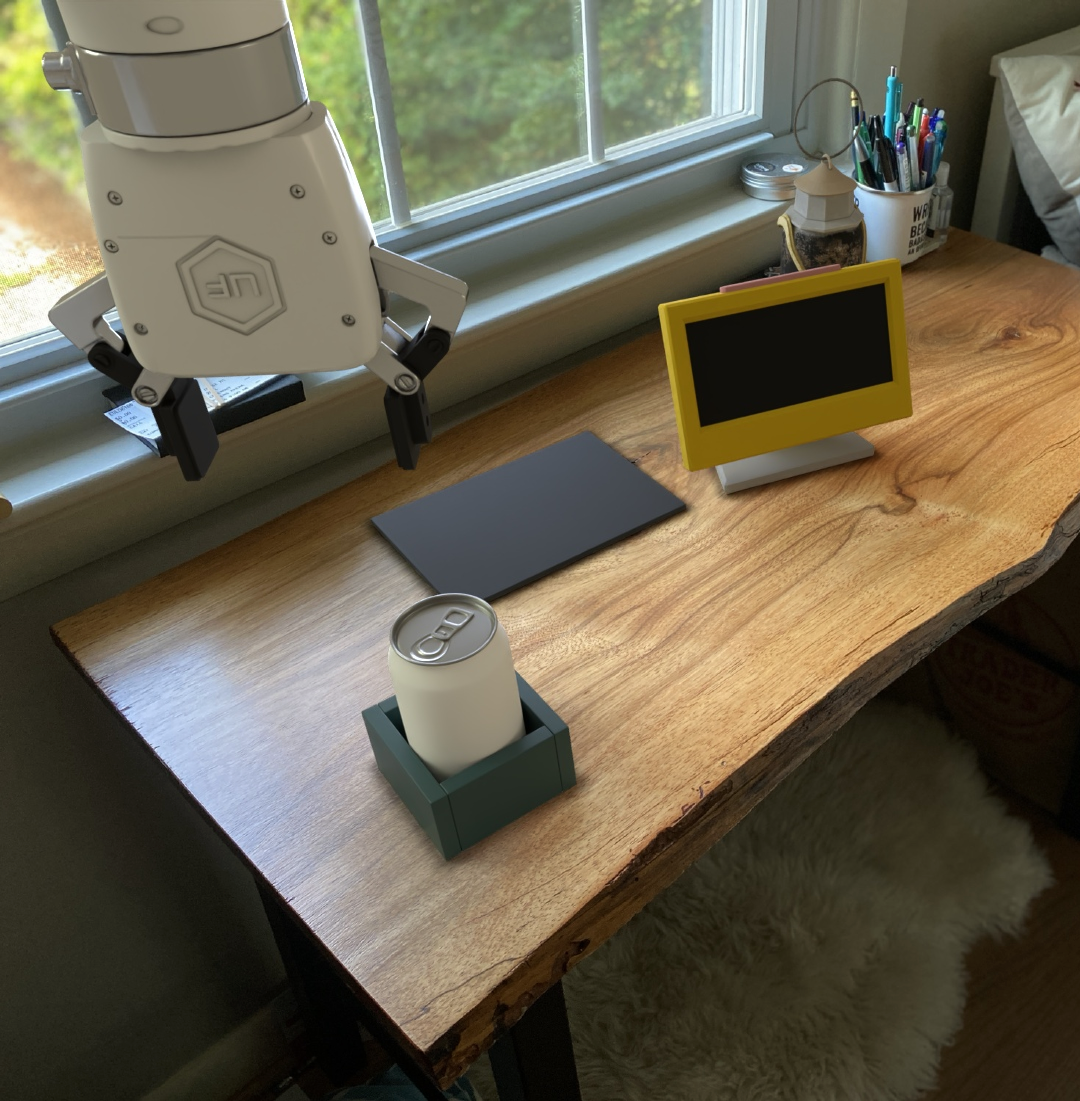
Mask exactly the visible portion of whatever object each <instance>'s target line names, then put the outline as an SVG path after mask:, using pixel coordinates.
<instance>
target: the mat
mask: <svg viewBox="0 0 1080 1101" xmlns="http://www.w3.org/2000/svg"><path fill="white" fill-rule="evenodd" d="M686 509H687V503H685V502H684V501H683V500H681V499H680V498H679V497H678V496H676V494H673V493H672V491H669V490H668V489H667V488H666V487H664V486H663V485H661V484H660V483H659V482H658V481H657V480H655V479H653V478H652V477H651V476H649V475H648V474H647V473H646V472H644V471H643V470H641V469H640V468H638V466H636V465H635V464H634V463H632V462H631V461H630V460H628V459H627V458H625V457H624V456H623V455H621V453H619V452H617V451H616V450H615V449H613V448H612V447H610V446H609V445H608V444H607V443H605V442H604V441H603V440H601V439H600V438H599V437H597V436H596V435H595V434H594V433H592V432H590V431H589V430H585V431H582V432H580V433H577V434H575V435H573V436H570V437H568V438H565V439H563V440H560V441H558V442H555V443H553V444H550V445H548V446H546V447H542V448H541V449H538V450H536V451H533V452H531V453H528V454H526V455H524V456H521V457H519V458H516V459H514V460H512V461H511V460H510V461H509V462H506V463H503V464H501V465H499V466H497V467H494V468H492V469H489V470H487V471H484V472H481V473H479V474H477V475H474V476H472V477H470V478H467V479H464V480H462V481H459V482H456V483H455V484H452V485H450V486H447V487H445V488H442V489H440V490H438V491H435V492H432V493H430V494H428V495H425V496H423V497H421V498H418V499H415V500H412V501H411V502H408V503H405V504H403V505H401V506H398V507H396V508H393V509H391V510H388V511H386V512H383V513H380V514H378V515H376V516H373V517H370V523H371V524H372V525H373V527H374V528H375V529H376V530H377V531H378V532H379V534H381V536H382V537H384V538H385V540H386V541H387V542H388V543H389V544H390V545H391V546H392V547H393V548H394V549H395V551H397V552H398V554H399V555H400V556H401V557H402V558H403V559H404V560H405V561H406V562H407V563H408V564H409V565H410V566H411V567H412V568H413V569H414V571H415V572H416V573H417V574H418V575H419V576H420V577H421V578H422V580H424V581H425V582H426V583H427V584H428V586H429V587H430V588H431V589H432V590H433V591H434V592H435V593H436V594H437V595H442V594H454V593H455V594H466V595H471V596H475V597H477V598H480V599H482V600H484V601H485V602H487V603H488V604H489V603H490V602H492V601H495V600H497V599H499V598H501V597H504V596H505V595H507V594H510V593H512V592H513V591H516V590H517V589H520V588H522V587H525V586H526V585H528V584H530V583H533V582H534V581H537V580H539V579H541V578H543V577H545V576H547V575H550V574H551V573H554V572H556V571H558V570H560V569H562V568H564V567H566V566H569V565H570V564H573V563H575V562H577V561H579V560H581V559H583V558H585V557H588V556H590V555H592V554H595V553H596V552H598V551H600V550H603V549H604V548H607V547H608V546H610V545H613V544H615V543H617V542H619V541H622V540H624V539H626V538H627V537H630V536H632V535H635V534H636V533H638V532H641V531H642V530H644V529H647V528H649V527H651V526H653V525H655V524H657V523H659V522H661V521H663V520H666V519H668V518H670V517H672V516H673V515H676V514H679V513H681V512H682V511H684V510H686Z"/></svg>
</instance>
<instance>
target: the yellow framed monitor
mask: <svg viewBox="0 0 1080 1101" xmlns="http://www.w3.org/2000/svg"><path fill="white" fill-rule="evenodd" d="M657 309H658V315H659V322H660V328H661V335H662V341H663V348H664V351H665V359H666V360H665V361H666V365H667V372H668V378H669V384H670V390H671V396H672V403H673V409H674V415H675V423H676V428H677V434H678V438H679V439H678V440H679V447H680V454H681V458H682V464H683V468H684V469H685V470H686V471H688V472H691V473H694V472H699V471H702V470H706V469H710V468H714V467H715V470H716V473H717V476H718V479H719V481H720V484H721V487H722V490H723V492H724V493H725V494H726V495H728V494H732V493H736V492H739V491H743V490H744V491H745V490H747V489H751V488H755V487H758V486H762V485H767V484H770V483H774V482H778V481H782V480H785V479H788V478H793V477H797V476H800V475H804V474H808V473H812V472H815V471H820V470H823V469H827V468H831V467H835V466H838V465H842V464H846V463H850V462H854V461H858V460H861V459H865V458H869V457H872V456H874V455H875V445H874V444H873V443H871V442H870V441H868V440H867V439H865V437H862V436H861V435H859V434H857V433H856V431H860V430H865V429H868V428H872V427H876V426H881V425H883V424H888V423H892V422H896V421H900V420H904V419H908V418H911V417H912V416H913V415H914V411H913V399H912V387H911V386H912V385H911V373H910V363H909V362H910V361H909V351H908V350H909V348H908V340H907V339H908V338H907V326H906V313H905V302H904V288H903V277H902V264H901V260H900V259H899V258H891V257H890V258H886V259H880V260H876V261H870V262H866V263H865V264H860V265H855V266H850V267H845V268H841V267H840V264H835V265H829V266H824V267H819V268H814V269H809V270H804V271H799V272H794V273H789V274H784V275H780V274H779V275H774V276H769V277H764V278H758V279H753V280H749V281H744V282H738V283H734V284H728V285H724V286H720V287H719V292H714V293H709V294H705V295H699V296H695V297H690V298H683V299H678V300H675V301H669V302H664V303H660V304H659V305H658V307H657Z"/></svg>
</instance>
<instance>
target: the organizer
mask: <svg viewBox="0 0 1080 1101" xmlns="http://www.w3.org/2000/svg"><path fill="white" fill-rule="evenodd" d="M515 674H516V680H517V685H518V691H519V697H520V702H521V708H522V714H523V720H524V726H525V731H526V736H525V737H523V738H521V739H519V740H517V741H516V742H514V743H512V744H510V745H508V746H507V747H505V748H503V749H501V750H499V751H498V752H496V753H494V754H492V755H490V756H488V757H487V758H485V759H483V760H481V761H479V762H478V763H476V764H474V765H472V766H470V767H468V768H467V769H465V770H463V771H461V772H459V773H458V774H456V775H454V776H452V777H450V778H449V779H447V780H445V781H443V782H441V783H440V785H439V783H438V782H437V781H436V779H435V778H434V777H433V776H432V774H431V773H430V772H429V770H428V769H427V768H426V767H425V765H424V764H423V763H422V761H421V760H420V759H419V758H418V756H417V755H416V754H415V752H414V751H413V750H412V748H411V747H410V746H409V742H408V739H407V735H406V732H405V728H404V724H403V721H402V717H401V713H400V710H399V706H398V702H397V698H396V695H395V694H393V695H391V696H389V697H387V698H385V699H383V700H382V701H379V702H377V703H376V704H373V705H371V706H369V707H367V708H365V709H363V710H361V716H362V719H363V723H364V726H365V729H366V733H367V736H368V739H369V742H370V746H371V749H372V752H373V755H374V758H375V762H376V766H377V768H378V770H379V771H380V773H381V775H383V777H384V778H385V780H386V781H387V782H388V784H389V785H390V787H391V788H392V789H393V791H394V792H395V793H396V795H397V796H398V797H399V799H400V800H401V802H402V803H403V805H404V806H405V808H407V810H408V811H409V813H410V814H411V816H412V817H413V819H414V820H415V821H416V823H417V824H418V825H419V827H420V828H421V829H422V830H423V832H424V833H425V835H426V837H427V838H428V839H429V840H430V842H431V843H432V844H433V846H434V847H435V848H436V850H437V851H438V852H439V854H440V855H441V857H442V858H443V859H444V861H445V862H448V861H450V860H451V859H453V858H455V857H456V856H458V855H460V854H462V852H465V851H467V850H468V849H470V848H472V847H473V846H475V845H477V844H478V843H480V842H482V841H484V840H485V839H487V838H488V837H490V836H492V835H493V834H495V833H497V832H498V831H500V830H502V829H503V828H505V827H507V826H509V825H511V824H512V823H514V822H515V821H517V820H519V819H521V818H522V817H524V816H526V815H528V814H529V813H531V812H532V811H534V810H536V809H537V808H539V807H540V806H542V805H544V804H545V803H548V802H549V801H551V800H553V799H554V798H556V797H557V796H559V795H561V794H562V793H565V792H566V791H568V790H570V789H571V788H573V787H575V786H577V784H578V782H577V776H576V775H577V774H576V769H575V768H576V767H575V760H574V753H573V745H572V739H571V733H570V726H569V725H568V724H567V722H565V721H564V720H563V719H562V718H561V716H559V714H558V713H557V712H556V711H555V710H554V709H553V708H552V707H551V706H550V705H549V704H548V703H547V702H546V700H544V699H543V697H542V696H541V695H540V694H539V693H538V692H537V691H536V690H535V689H534V687H532V686H531V685H530V683H528V682H527V680H526V679H525V678H524V677H523V676H522V675H521V674H520V673H519V672H518V671H517V670H516V669H515Z"/></svg>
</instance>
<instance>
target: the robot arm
mask: <svg viewBox="0 0 1080 1101" xmlns="http://www.w3.org/2000/svg"><path fill="white" fill-rule="evenodd" d="M55 1H56V5H57V7H58V10H59V12H60V16H61V18H62V21H63V24H64V26H65V30H66V32H67V35H68V38H69V39H68V40H67V41H66V42H65V46H66V47H63V49H62V50H61V51H45V52H44V53H43V54H42V57H41V68H42V73H43V76H44V78H45V80H46V83H47V84H48V86H49V87H50V88H51V89H52V90H54V91H72V92H73V93H74V94H77V95H82V96H83V97H84V99H85V100H84V101H85V102H86V105H87V107H88V110H89V113H90V115H91V116H92V117H97V119H96V120H94V121H93V122H92V123H90V124H89V125H87V126H85V127H84V128H83V129H82V130H81V131H80V133H79V142H80V143H79V144H80V154H81V160H82V161H81V162H82V167H83V174H84V181H85V186H86V191H87V195H88V196H87V197H88V202H89V203H88V204H89V207H90V211H91V216H92V221H93V226H94V232H95V236H96V239H97V243H98V247H99V252H100V255H101V260H102V264H103V266H104V270H101V271H100V272H99V273H97V274H96V275H94V276H93V277H91V278H90V279H88V280H86V281H84V282H83V283H81V284H80V285H77V286H76V287H74V288H73V289H72V290H70V291H68V292H67V293H66V294H64V295H62V296H61V297H60V298H59V299H58V300H57V301H56V302H55V304H54V305H53V306H52V307H51V308H50V309H49V311H48V313H47V318H48V321H49V322H50V323H51V324H52V326H54V327H55V328H56V329H57V330H58V331H59V332H60V333H61V334H62V335H63V336H64V337H65V338H66V340H68V341H69V342H70V343H71V344H73V346H74V347H76V349H77V350H79V351H82V352H84V353H85V354H86V356H87V361H88V363H89V365H90V366H91V367H92V368H94V369H95V370H96V371H98V372H99V373H101V374H102V375H104V376H106V377H108V378H109V379H111V380H112V381H115V382H117V383H118V384H119V385H121V386H123V387H124V388H126V389H127V390H129V391H131V397H132V399H133V400H134V401H135V402H136V403H137V404H138V405H140V406H142V407H145V408H150V411H151V413H152V415H153V416H152V417H153V418H154V421H155V423H156V426H157V428H158V431H159V434H160V437H161V439H162V441H163V445H164V447H165V449H166V452H167V454H168V455H169V456H170V457H175V458H176V460H177V463H178V465H179V467H180V470H181V473H182V476H183V478H184V480H185V482H200V481H201V480H202V479H203V478H205V477H206V475H207V473H208V471H209V469H210V466H211V465H212V463H213V461H214V459H215V456H216V455H217V453H218V451H219V449H220V441H219V438H218V436H217V435H218V434H217V431H216V429H215V426H214V423H213V420H212V417H211V414H210V411H209V409H208V406H207V403H206V400H205V398H204V395H203V392H202V390H201V385H200V383H199V380H198V379H203V378H204V379H205V378H206V379H207V378H208V379H209V378H231V377H232V378H233V377H250V376H251V377H254V376H255V377H256V376H273V375H275V376H276V375H294V374H296V375H297V374H317V373H330V372H331V373H332V372H341V371H348V370H352V369H356V368H359V367H362V366H363V367H365V368H367V369H368V370H369V371H370V372H371V373H373V375H375V376H377V377H378V378H379V379H380V380H382V382H384V383H385V384H386V385H387V386H386V388H385V393H384V396H383V406H384V410H385V415H386V419H387V423H388V428H389V432H390V436H391V442H392V445H393V449H394V454H395V458H396V462H397V466H398V468H399V469H401V468H402V470H403V471H415V470H416V469H417V464H418V460H419V456H420V452H421V448H422V445H424V444H427V445H428V444H431V441H432V437H433V423H432V417H431V413H430V408H429V401H428V398H427V393H426V388H425V383H424V382H425V381H424V380H425V379H426V377H427V376H428V375H429V374H430V373H431V372H433V370H434V369H435V368H436V367H437V365H438V364H439V363H440V362H441V361H442V360H443V359H444V357H445V356H446V355H448V353H449V351H450V348H451V345H452V343H453V339H454V337H455V335H456V333H457V331H458V328H459V325H460V323H461V320H462V317H463V315H464V313H465V310H466V306H467V303H468V298H469V293H470V288H469V286H468V284H467V283H466V281H463V280H462V279H459V278H457V277H454V276H452V275H450V274H448V273H445V272H442V271H440V270H437V269H435V268H432V267H431V266H427V265H424V264H423V263H420V262H417V261H415V260H413V259H410V258H408V257H405V256H402V255H400V254H398V253H396V252H393V251H390V250H387V249H385V248H383V247H380V246H379V244H378V241H377V238H376V234H375V231H374V227H373V223H372V221H371V217H370V215H369V214H370V213H369V211H368V207H367V204H366V202H365V199H364V196H363V192H362V190H361V187H360V184H359V181H358V178H357V176H356V173H355V171H354V167H353V165H352V163H351V161H350V160H351V159H350V158H349V155H348V152H347V150H346V147H345V145H344V142H343V140H342V138H341V136H340V133H339V131H338V129H337V126H336V124H335V122H334V120H333V117H332V116H331V114H330V111H329V110H328V109H329V108H328V107H327V106H326V105H325V104H324V103H323V102H321V101H318V100H310V97H309V95H308V90H307V85H306V81H305V77H304V73H303V68H302V63H301V59H300V55H299V51H298V46H297V42H296V38H295V34H294V30H293V29H294V28H293V26H292V21H291V19H290V13H289V10H288V9H289V8H288V5H287V1H286V0H55ZM390 293H391V294H394V295H396V296H398V297H401V298H404V299H407V300H409V301H411V302H414V303H417V304H419V305H422V306H423V307H425V308H426V309H427V310H428V312H429V316H428V320H427V321H426V322H425V324H424V325H423V326H422V327H421V328H420V330H419V331H417V333H416V334H415V335H414V336H412V335H410V334H409V333H407V331H405V330H404V329H403V328H402V327H400V326H399V325H398V324H397V323H396V322H394V321H393V320H392V319H391V318H390V317H389V316H390V313H391V296H390V295H391V294H390ZM115 308H116V312H117V315H118V317H119V318H118V319H119V320H120V323H121V326H122V329H123V332H124V333H123V332H120V331H119V330H114V329H113V328H112V327H111V323H110V322H108V321H107V319H106V318H105V317H104V314H106V313H108V312H109V311H111V310H112V309H115Z"/></svg>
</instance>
